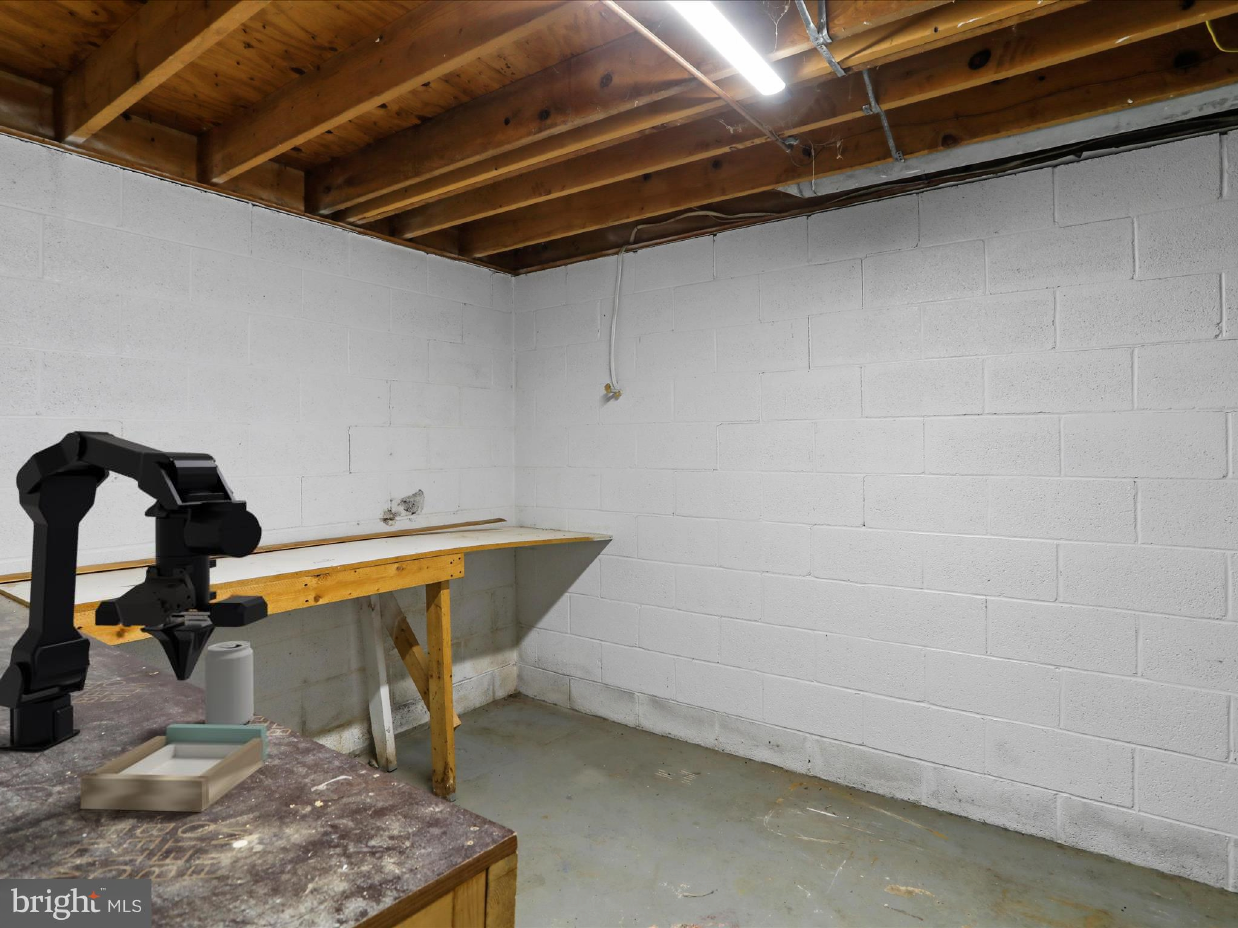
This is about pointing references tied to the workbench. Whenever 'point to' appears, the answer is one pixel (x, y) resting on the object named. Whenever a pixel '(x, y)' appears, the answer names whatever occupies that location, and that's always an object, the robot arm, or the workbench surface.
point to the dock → (166, 781)
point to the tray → (196, 748)
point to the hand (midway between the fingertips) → (183, 679)
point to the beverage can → (229, 683)
